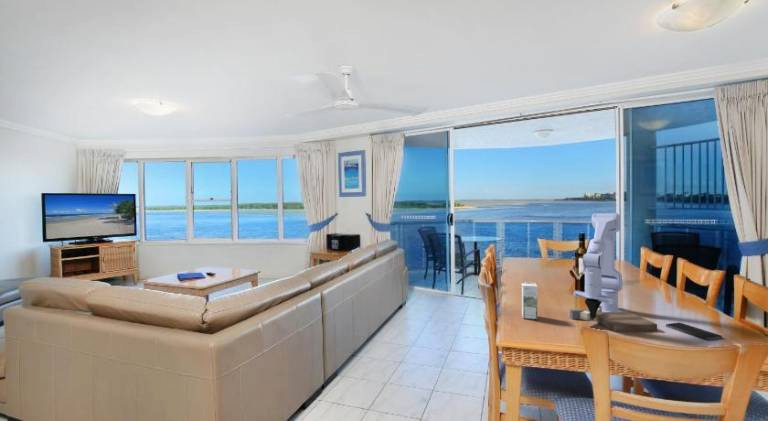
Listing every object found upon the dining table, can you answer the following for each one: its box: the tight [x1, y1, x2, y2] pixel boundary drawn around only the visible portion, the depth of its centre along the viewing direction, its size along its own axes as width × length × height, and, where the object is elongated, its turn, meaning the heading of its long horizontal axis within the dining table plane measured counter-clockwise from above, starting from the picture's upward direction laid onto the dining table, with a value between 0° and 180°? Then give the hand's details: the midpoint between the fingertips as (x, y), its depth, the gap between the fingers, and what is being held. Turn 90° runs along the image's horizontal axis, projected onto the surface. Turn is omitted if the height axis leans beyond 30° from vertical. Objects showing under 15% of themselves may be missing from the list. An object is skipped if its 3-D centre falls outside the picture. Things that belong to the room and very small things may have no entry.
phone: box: [665, 322, 723, 342], centre depth 133 cm, size 8×1×15 cm
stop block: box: [569, 308, 587, 320], centre depth 150 cm, size 2×6×4 cm, turn 91°
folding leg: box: [579, 306, 603, 321], centre depth 144 cm, size 13×2×3 cm, turn 124°
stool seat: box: [592, 311, 658, 333], centre depth 142 cm, size 15×16×2 cm
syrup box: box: [521, 282, 538, 321], centre depth 152 cm, size 6×6×14 cm
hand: (593, 318), depth 141 cm, fingers closed
